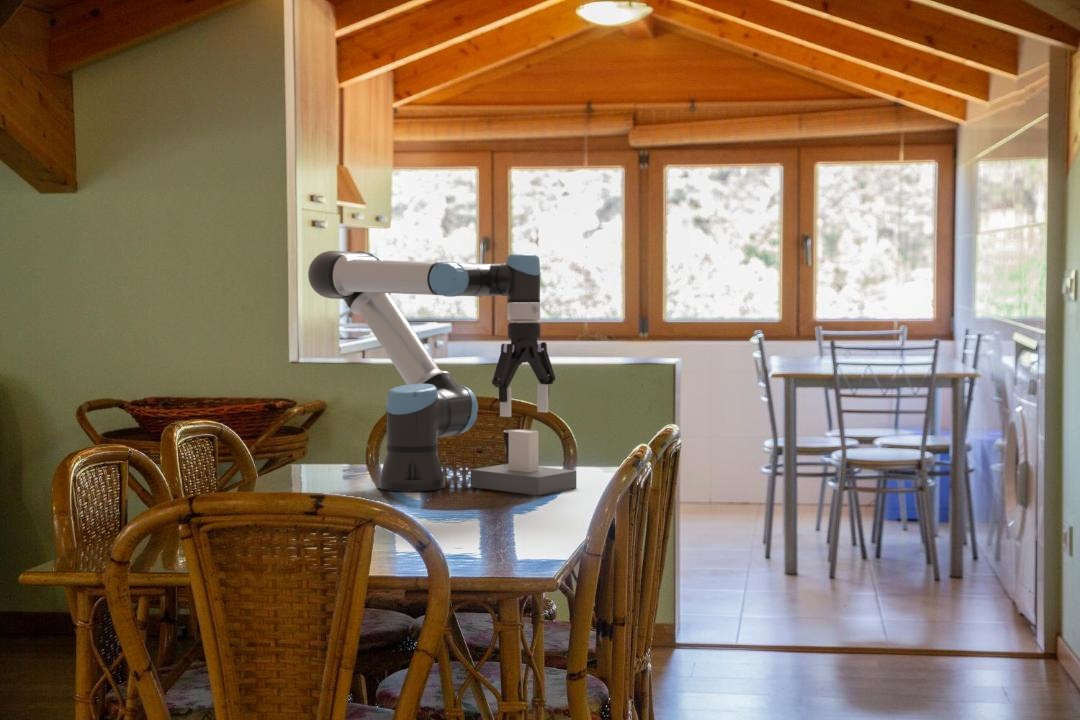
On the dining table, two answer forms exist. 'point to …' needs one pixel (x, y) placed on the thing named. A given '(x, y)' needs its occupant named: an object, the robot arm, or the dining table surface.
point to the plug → (523, 450)
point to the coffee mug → (506, 441)
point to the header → (523, 480)
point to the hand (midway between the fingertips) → (524, 414)
